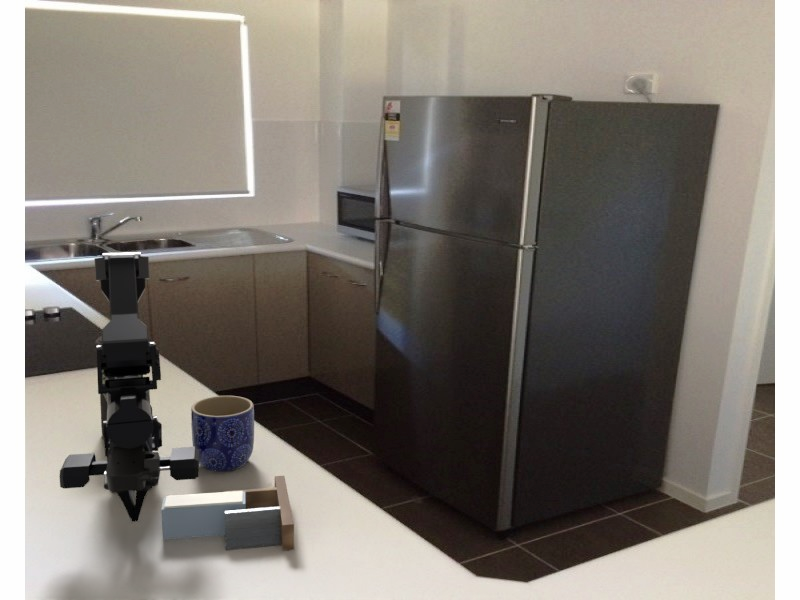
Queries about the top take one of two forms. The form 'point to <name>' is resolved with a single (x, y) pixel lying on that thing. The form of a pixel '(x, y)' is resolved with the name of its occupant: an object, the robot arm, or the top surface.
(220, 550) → the top surface
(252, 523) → the bookend
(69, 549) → the top surface
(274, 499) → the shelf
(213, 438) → the planter
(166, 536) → the book
